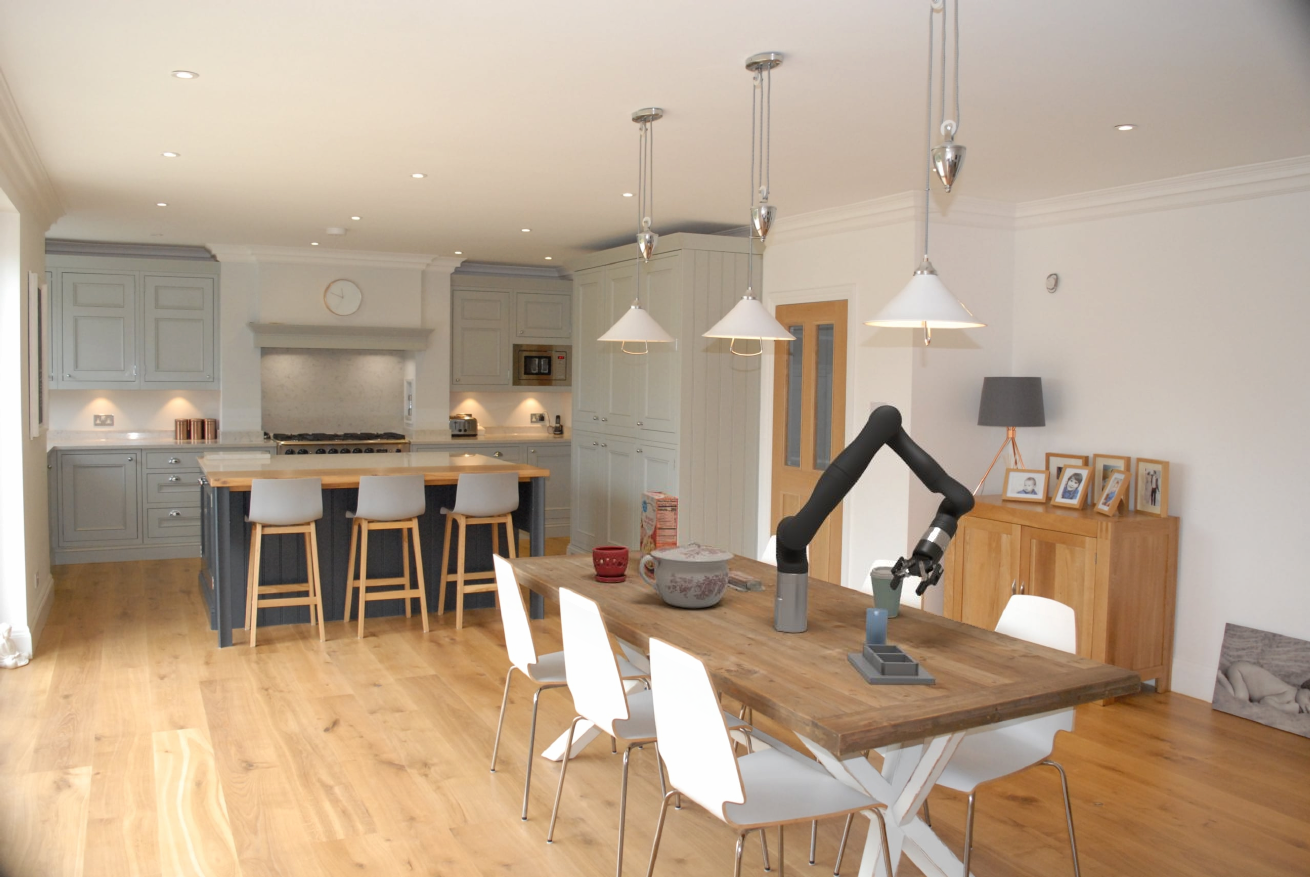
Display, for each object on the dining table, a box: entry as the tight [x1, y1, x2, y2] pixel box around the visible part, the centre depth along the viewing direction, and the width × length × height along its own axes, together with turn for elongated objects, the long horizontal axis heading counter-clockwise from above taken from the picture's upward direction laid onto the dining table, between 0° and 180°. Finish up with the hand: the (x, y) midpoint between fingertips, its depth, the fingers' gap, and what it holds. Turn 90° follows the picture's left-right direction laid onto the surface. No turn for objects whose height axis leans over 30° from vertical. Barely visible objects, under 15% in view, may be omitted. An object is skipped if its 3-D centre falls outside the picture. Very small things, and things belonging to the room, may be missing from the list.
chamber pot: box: [637, 540, 735, 610], centre depth 315 cm, size 28×28×21 cm
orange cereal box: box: [639, 491, 679, 581], centre depth 366 cm, size 23×8×30 cm, turn 15°
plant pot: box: [592, 545, 629, 583], centre depth 351 cm, size 13×13×12 cm
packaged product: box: [727, 570, 766, 593], centre depth 347 cm, size 18×5×10 cm
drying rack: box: [846, 644, 936, 686], centre depth 244 cm, size 16×22×4 cm
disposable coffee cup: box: [869, 566, 904, 619], centre depth 306 cm, size 11×11×15 cm
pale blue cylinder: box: [864, 607, 888, 645], centre depth 260 cm, size 6×6×12 cm
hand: (904, 591), depth 267 cm, fingers open, 8 cm apart
